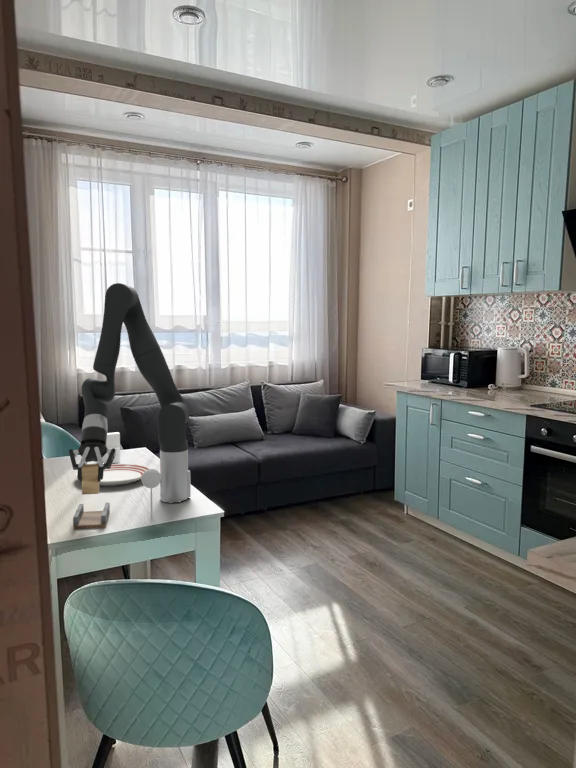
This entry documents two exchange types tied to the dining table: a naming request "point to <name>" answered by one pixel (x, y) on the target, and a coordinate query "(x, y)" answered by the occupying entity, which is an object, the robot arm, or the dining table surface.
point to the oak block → (90, 479)
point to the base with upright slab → (113, 446)
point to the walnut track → (91, 518)
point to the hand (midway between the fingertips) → (90, 480)
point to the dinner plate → (122, 474)
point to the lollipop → (151, 480)
